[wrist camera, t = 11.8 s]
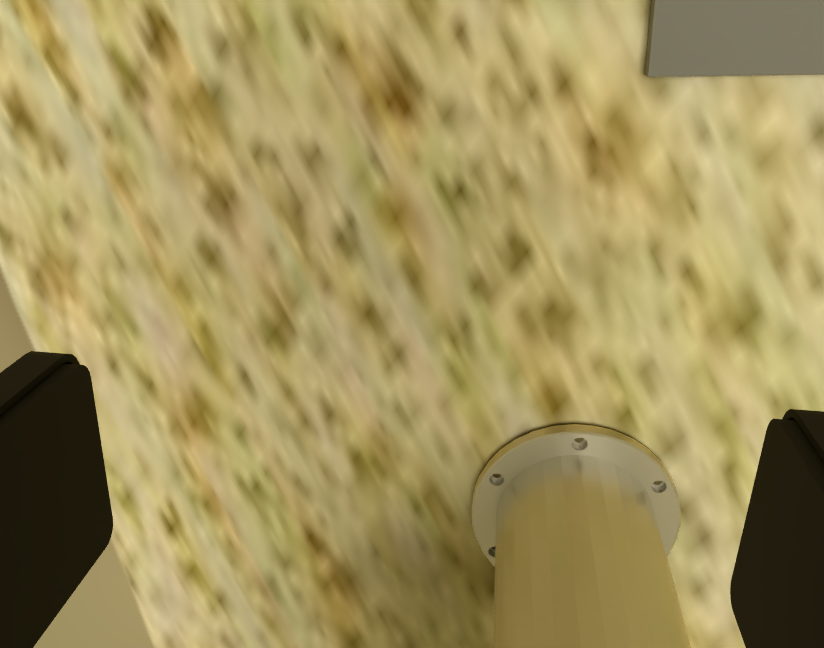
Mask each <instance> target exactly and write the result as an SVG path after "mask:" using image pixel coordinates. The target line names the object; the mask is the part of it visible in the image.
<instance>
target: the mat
mask: <svg viewBox="0 0 824 648" xmlns="http://www.w3.org/2000/svg"><path fill="white" fill-rule="evenodd" d="M823 74H824V0H651V11H650V23H649V34H648V45H647V56H646V67H645V75H646V76H647V77H681V76H752V75H823Z"/></svg>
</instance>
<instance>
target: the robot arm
mask: <svg viewBox="0 0 824 648" xmlns="http://www.w3.org/2000/svg"><path fill="white" fill-rule="evenodd" d="M577 438H580V439H577ZM680 512H681V508H680V504H679V499H678V495H677V491H676V489H675V486H674V483H673V481H672V478H671V476H670V474H669V473H668V471H667V470H666V468H665V466H664V465H663V463H662V462H661V461H660V460H659V459H658V458H657V457H656V456H655V455H654V454H653V453H652V452H651V451H650V450H649V449H648V448H646V447H645V446H643V445H642V444H640V443H639V442H637V441H636V440H634V439H633V438H631V437H628V436H626V435H624V434H621V433H619V432H617V431H615V430H610V429H606V428H602V427H598V426H593V425H579V424H569V425H558V426H551V427H547V428H543V429H539V430H535V431H532V432H530V433H528V434H526V435H523V436H521V437H519V438H517V439H515V440H514V441H512V442H511V443H509V444H508V445H506V446H505V447H503V448H502V449H500V450H499V451H498V452H497V454H496V455H495V456H494V457H493V458H492V459H491V460H490V461H489V462H488V463H487V465H486V466H485V468H484V469H483V471H482V472H481V474H480V475H479V478H478V480H477V483H476V486H475V489H474V492H473V500H472V526H473V531H474V535H475V538H476V540H477V543H478V545H479V547H480V549H481V551H482V553H483V554H484V555H485V556H486V558H487V559H488V560H489V562H490V563H491V564H492V565H493V566H494V567H495V588H494V631H493V648H691V646H690V643H689V639H688V635H687V632H686V628H685V624H684V620H683V617H682V613H681V609H680V605H679V602H678V598H677V594H676V591H675V587H674V583H673V579H672V576H671V572H670V568H669V565H668V561H667V556H668V555H669V553H670V551H671V549H672V547H673V545H674V543H675V542H676V539H677V535H678V531H679V528H680ZM112 529H113V517H112V511H111V504H110V498H109V491H108V485H107V478H106V472H105V465H104V459H103V453H102V446H101V440H100V433H99V427H98V420H97V414H96V407H95V401H94V394H93V388H92V381H91V376H90V372H89V370H88V368H87V367H86V366H84V365H80V364H79V362H78V360H77V358H76V357H75V356H73V355H72V354H60V353H47V352H34V351H31V352H29V353H27V354H25V355H24V356H22V357H21V358H20V359H18V360H17V361H16V362H14V363H13V364H12V365H10V366H9V367H8V368H6V369H5V370H4V371H3V372H1V373H0V648H33V647H34V645H35V644H36V643H37V641H38V640H39V638H40V637H41V636H42V634H43V633H44V632H45V630H46V629H47V628H48V626H49V625H50V624H51V622H52V621H53V619H54V618H55V617H56V615H57V614H58V613H59V611H60V610H61V608H62V607H63V606H64V604H65V603H66V602H67V600H68V599H69V597H70V596H71V594H72V593H73V592H74V591H75V589H76V588H77V586H78V585H79V584H80V582H81V581H82V580H83V578H84V577H85V576H86V574H87V573H88V571H89V570H90V569H91V567H92V566H93V565H94V563H95V562H96V560H97V559H98V558H99V556H100V555H101V554H102V552H103V551H104V550H105V548H106V547H107V545H108V543H109V541H110V538H111V534H112ZM730 594H731V604H732V609H733V612H734V615H735V618H736V621H737V624H738V626H739V629H740V632H741V635H742V638H743V641H744V643H745V646H746V648H824V412H820V411H807V410H794V409H790V410H788V411H787V412H786V413H785V415H784V416H783V419H772V420H771V421H770V423H769V425H768V427H767V431H766V435H765V439H764V443H763V448H762V452H761V456H760V460H759V465H758V469H757V473H756V477H755V482H754V486H753V490H752V494H751V499H750V503H749V507H748V511H747V516H746V520H745V524H744V529H743V533H742V537H741V541H740V546H739V550H738V554H737V558H736V563H735V567H734V571H733V575H732V580H731V589H730Z"/></svg>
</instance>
